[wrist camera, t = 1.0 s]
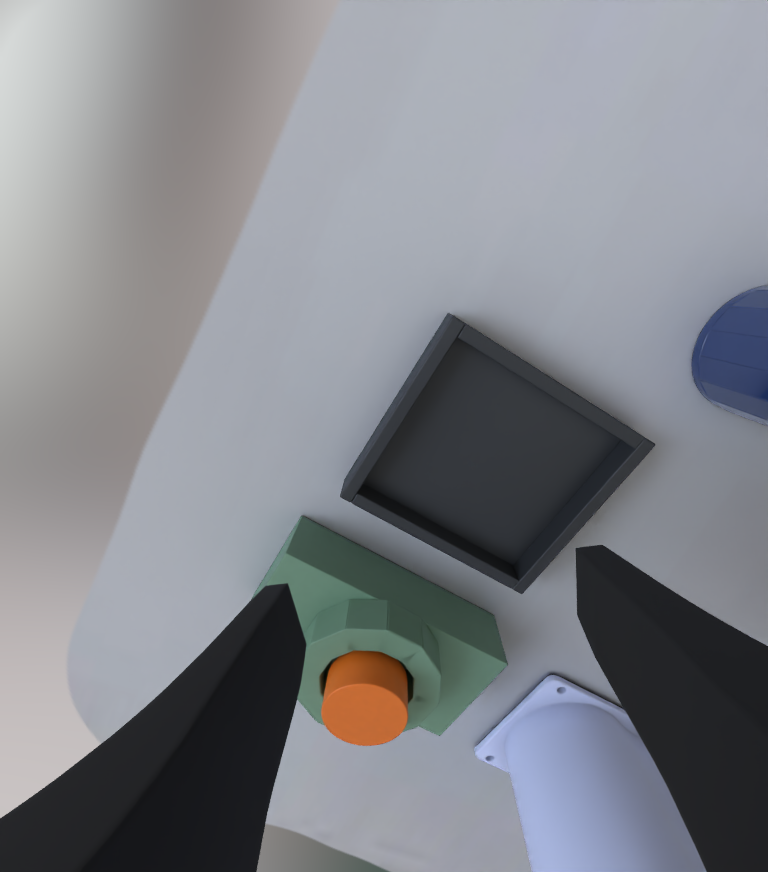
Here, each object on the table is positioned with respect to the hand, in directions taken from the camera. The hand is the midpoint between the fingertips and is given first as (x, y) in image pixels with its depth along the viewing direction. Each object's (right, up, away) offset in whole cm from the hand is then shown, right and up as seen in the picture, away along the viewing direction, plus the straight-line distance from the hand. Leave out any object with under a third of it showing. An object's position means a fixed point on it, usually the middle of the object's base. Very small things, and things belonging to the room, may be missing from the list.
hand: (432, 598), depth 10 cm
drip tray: (+4, +3, +9) cm, 10 cm away
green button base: (-2, -5, +13) cm, 14 cm away
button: (-2, -7, +8) cm, 11 cm away
